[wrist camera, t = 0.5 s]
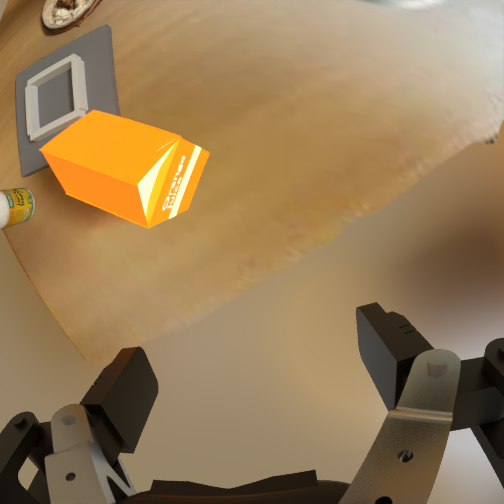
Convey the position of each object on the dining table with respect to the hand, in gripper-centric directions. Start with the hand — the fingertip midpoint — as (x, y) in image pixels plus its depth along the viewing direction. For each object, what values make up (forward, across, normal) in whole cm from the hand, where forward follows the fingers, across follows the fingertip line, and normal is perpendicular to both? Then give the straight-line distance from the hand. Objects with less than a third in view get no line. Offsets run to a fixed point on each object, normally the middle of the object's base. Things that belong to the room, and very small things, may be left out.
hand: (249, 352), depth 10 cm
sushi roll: (+29, +20, -44) cm, 56 cm away
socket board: (+28, +23, -25) cm, 44 cm away
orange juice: (+28, +9, -9) cm, 31 cm away
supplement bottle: (+28, +34, -12) cm, 46 cm away
